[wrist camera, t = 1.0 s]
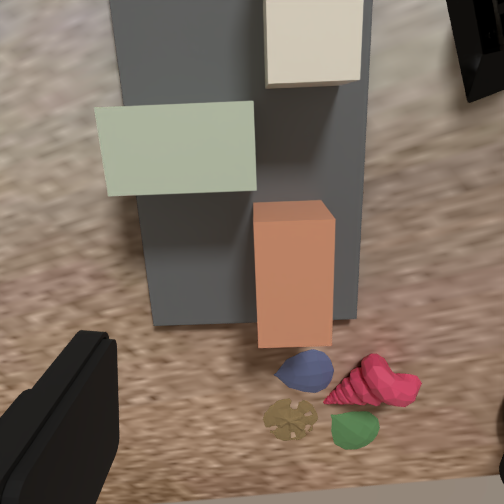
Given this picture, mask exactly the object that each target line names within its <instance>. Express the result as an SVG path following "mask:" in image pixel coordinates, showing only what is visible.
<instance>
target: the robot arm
mask: <svg viewBox="0 0 504 504" xmlns="http://www.w3.org/2000/svg"><path fill="white" fill-rule="evenodd" d="M118 444H119V402H118V368H117V343H116V340H114V339H109V336H108V333H106V332H97V331H85V330H80V331H79V332H77V334H76V335H75V336H74V337H73V338H72V340H71V341H70V342H69V343H68V345H67V346H66V347H65V348H64V350H63V351H62V352H61V353H60V354H59V356H58V357H57V358H56V359H55V361H54V362H53V363H52V364H51V365H50V367H49V368H48V369H47V370H46V372H45V373H44V374H43V375H42V377H41V378H40V379H39V380H38V381H37V383H36V384H35V385H34V386H33V388H32V389H28V390H25V391H23V392H22V393H21V394H20V395H19V396H18V397H17V398H16V400H15V401H14V402H13V403H12V404H11V406H10V407H9V408H8V409H7V410H6V411H5V413H4V414H3V415H2V416H1V417H0V504H96V502H97V499H98V497H99V494H100V492H101V489H102V487H103V484H104V482H105V480H106V477H107V475H108V472H109V470H110V467H111V465H112V463H113V460H114V458H115V455H116V452H117V449H118ZM499 472H500V477H501V480H502V482H503V483H504V454H503V457H502V460H501V462H500V466H499Z"/></svg>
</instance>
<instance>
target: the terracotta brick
mask: <svg viewBox="0 0 504 504" xmlns="http://www.w3.org/2000/svg"><path fill="white" fill-rule="evenodd" d="M335 220H336V219H335V218H334V216H333V215H332V214H331V213H330V211H329V210H328V209H327V207H326V206H325V205H324V203H323V202H322V201H321V200H308V201H283V202H257V203H253V226H254V250H255V275H256V300H257V325H258V348H279V347H309V346H332V323H333V289H334V254H335Z"/></svg>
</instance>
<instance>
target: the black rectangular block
mask: <svg viewBox="0 0 504 504" xmlns="http://www.w3.org/2000/svg"><path fill="white" fill-rule="evenodd" d="M446 2H447V7H448V12H449V17H450V21H451V26H452V31H453V36H454V40H455V45H456V50H457V55H458V59H459V64H460V69H461V74H462V78H463V83H464V88H465V93H466V97H467V101H468V102H469V103H471V102H474V101H476V100H479V99H481V98H484V97H486V96H489V95H492V94H494V93H497V92H499V91H502V90H504V0H446Z"/></svg>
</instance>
